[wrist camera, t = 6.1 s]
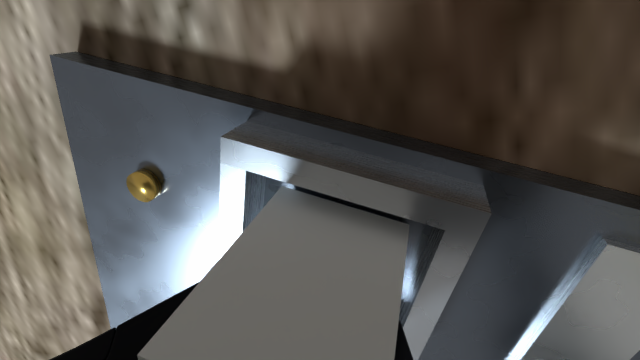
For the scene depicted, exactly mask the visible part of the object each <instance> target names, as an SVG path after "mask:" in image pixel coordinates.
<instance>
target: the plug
mask: <svg viewBox="0 0 640 360" xmlns="http://www.w3.org/2000/svg"><path fill="white" fill-rule="evenodd" d="M408 234H409V224H406V223H402V222H399V221H396V220H392V219H389V218H386V217H383V216H379V215H376V214H373V213H369V212H366V211H363V210H360V209H356V208H353V207H350V206H346V205H343V204H340V203H336V202H333V201H330V200H327V199H323V198H320V197H317V196H313V195H310V194H307V193H304V192H300V191H297V190H294V189H290V188H287V187H284V186H282V187H281V188H280V189H279V190H278V191H277V192H276V194H275V195H274V196H273V197H272V198H271V199H270V201H269V202H268V203H267V204H266V205H265V206H264V208H263V209H262V210H261V211H260V212H259V213H258V215H257V216H256V217H255V218H254V219H253V220H252V222H251V223H250V224H249V225H248V226H247V227H246V229H245V230H244V231H243V232H242V233H241V234H240V236H239V237H238V238H237V239H236V240H235V241H234V243H233V244H232V245H231V246H230V247H229V248H228V250H227V251H226V252H225V253H224V254H223V255H222V257H221V258H220V259H219V260H218V261H217V262H216V264H215V265H214V266H213V267H212V268H211V269H210V271H209V272H208V273H207V274H206V275H205V276H204V278H203V279H202V280H201V281H200V282H199V283H198V285H197V286H196V287H195V288H194V289H193V290H192V292H191V293H190V294H189V295H188V296H187V297H186V299H185V300H184V301H183V302H182V303H181V304H180V306H179V307H178V308H177V309H176V310H175V311H174V313H173V314H172V315H171V316H170V317H169V318H168V320H167V321H166V322H165V323H164V324H163V325H162V327H161V328H160V329H159V330H158V331H157V332H156V334H155V335H154V336H153V337H152V338H151V339H150V341H149V342H148V343H147V344H146V345H145V346H144V348H143V349H142V350H141V351H140V352H139V353H138V355H137V357H138V360H394V358H395V349H396V340H397V331H398V323H399V314H400V305H401V296H402V287H403V278H404V270H405V261H406V252H407V243H408Z"/></svg>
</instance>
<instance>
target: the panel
mask: <svg viewBox="0 0 640 360" xmlns="http://www.w3.org/2000/svg"><path fill="white" fill-rule="evenodd" d="M50 58H51V63H52V67H53V72H54V76H55V81H56V85H57V90H58V94H59V99H60V103H61V108H62V112H63V116H64V121H65V125H66V130H67V134H68V139H69V143H70V148H71V152H72V157H73V161H74V166H75V170H76V175H77V179H78V184H79V188H80V192H81V197H82V201H83V206H84V210H85V215H86V219H87V224H88V228H89V233H90V237H91V242H92V246H93V251H94V255H95V260H96V264H97V268H98V273H99V277H100V282H101V286H102V291H103V295H104V300H105V304H106V309H107V313H108V318H109V322H110V327H111V329H112V328H114V327H115V328H117V326H118V325H120V324H122V323H123V322H125V321H127V320H129V319H131V318H133V317H135V316H136V315H138V314H140V313H142V312H144V311H146V310H148V309H149V308H151V307H153V306H155V305H157V304H159V303H161V302H162V301H164V300H166V299H168V298H170V297H172V296H174V295H176V294H177V293H179V292H181V291H183V290H185V289H187V288H189V287H190V286H192V285H194V284H196V283H198V282H200V281H201V280H202V279H203V278H204V276H205V275H206V274H207V273H208V272H209V271H210V269H211V268H212V267H213V266H214V265H215V264H216V262H217V261H218V260H219V259H220V258H221V257H222V255H223V254H224V253H225V252H226V251H227V250H228V248H229V247H230V246H231V245H232V244H233V243H234V241H235V240H236V239H237V238H238V237H239V236H240V234H241V233H242V232H243V231H244V230H245V229H246V227H247V226H248V225H249V224H250V223H251V222H252V220H253V219H254V218H255V217H256V216H257V215H258V213H259V212H260V211H261V210H262V209H263V208H264V206H265V205H266V204H267V203H268V202H269V201H270V199H271V198H272V197H273V196H274V195H275V194H276V192H277V191H278V190H279V189H280V188H281V187H282V186H284V187H287V188H290V189H294V190H297V191H300V192H304V193H307V194H310V195H313V196H317V197H320V198H323V199H327V200H330V201H333V202H336V203H340V204H343V205H346V206H350V207H353V208H356V209H360V210H363V211H366V212H369V213H373V214H376V215H379V216H383V217H386V218H389V219H392V220H396V221H399V222H402V223H406V224H409V234H408V243H407V252H406V261H405V270H404V278H403V287H402V296H401V305H400V314H399V320H400V322H401V324H402V327H403V330H404V333H405V336H406V339H407V342H408V345H409V348H410V351H411V354H412V357H413V360H640V196H637V195H633V194H629V193H625V192H621V191H617V190H614V189H610V188H606V187H602V186H598V185H594V184H590V183H586V182H582V181H578V180H575V179H571V178H567V177H563V176H559V175H555V174H551V173H547V172H543V171H539V170H536V169H532V168H528V167H524V166H520V165H516V164H512V163H508V162H504V161H500V160H497V159H493V158H489V157H485V156H481V155H477V154H473V153H469V152H465V151H461V150H458V149H454V148H450V147H446V146H442V145H438V144H434V143H430V142H426V141H422V140H419V139H415V138H411V137H407V136H403V135H399V134H395V133H391V132H387V131H383V130H380V129H376V128H372V127H368V126H364V125H360V124H356V123H352V122H348V121H344V120H341V119H337V118H333V117H329V116H325V115H321V114H317V113H313V112H309V111H305V110H302V109H298V108H294V107H290V106H286V105H282V104H278V103H274V102H270V101H266V100H263V99H259V98H255V97H251V96H247V95H243V94H239V93H235V92H231V91H227V90H224V89H220V88H216V87H212V86H208V85H204V84H200V83H196V82H192V81H188V80H185V79H181V78H177V77H173V76H169V75H165V74H161V73H157V72H153V71H149V70H146V69H142V68H138V67H134V66H130V65H126V64H122V63H118V62H114V61H111V60H107V59H103V58H99V57H95V56H91V55H87V54H83V53H79V52H70V53H61V54H53V55H50Z"/></svg>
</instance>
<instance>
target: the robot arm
mask: <svg viewBox="0 0 640 360" xmlns="http://www.w3.org/2000/svg"><path fill="white" fill-rule="evenodd" d="M198 283H199V282H198ZM198 283H196V284H194V285H192V286H190V287H189V288H187V289H185V290H183V291H181V292H179V293H177V294H176V295H174V296H172V297H170V298H168V299H166V300H164V301H162V302H161V303H159V304H157V305H155V306H153V307H151V308H149V309H148V310H146V311H144V312H142V313H140V314H138V315H136V316H135V317H133V318H131V319H129V320H127V321H125V322H123V323H122V324H120V325H118V326H117V328H115V327H114V328H112V329H110V330H108V331H106V332H105V333H103V334H101V335H99V336H97V337H95V338H93V339H91V340H89V341H87V342H85V343H83V344H81V345H79V346H78V347H76V348H73V349H71V350H69V351H67V352H65V353H63V354H61V355H58V356H56V357H54V358H52V359H50V360H138V357H137V355H138V353H139V352H140V351H141V350H142V349H143V348H144V346H145V345H146V344H147V343H148V342H149V341H150V339H151V338H152V337H153V336H154V335H155V334H156V332H157V331H158V330H159V329H160V328H161V327H162V325H163V324H164V323H165V322H166V321H167V320H168V318H169V317H170V316H171V315H172V314H173V313H174V311H175V310H176V309H177V308H178V307H179V306H180V304H181V303H182V302H183V301H184V300H185V299H186V297H187V296H188V295H189V294H190V293H191V292H192V290H193V289H194V288H195V287H196V286H197V285H198ZM394 360H413V357H412V354H411V351H410V348H409V345H408V342H407V339H406V336H405V333H404V330H403V327H402V324H401V322H400V320H399V323H398V331H397V340H396V349H395V358H394Z"/></svg>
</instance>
